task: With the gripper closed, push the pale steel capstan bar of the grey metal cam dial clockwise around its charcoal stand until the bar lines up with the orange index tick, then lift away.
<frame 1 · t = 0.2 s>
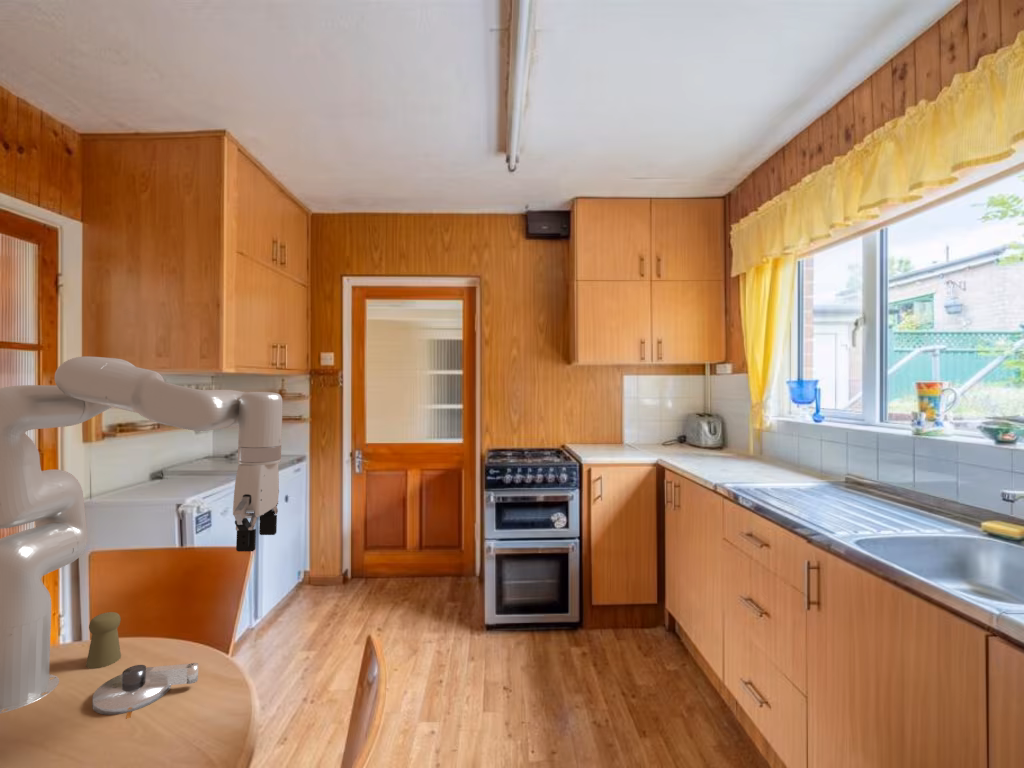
hand: (257, 542, 95), 31 cm above the table, tool pointing down, fingers open, 9 cm apart
olive pepper mill: (103, 667, 104), on the table
cam dial: (148, 680, 94), point 3 cm above the table, hinge at 0.0°
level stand: (133, 699, 93), on the table
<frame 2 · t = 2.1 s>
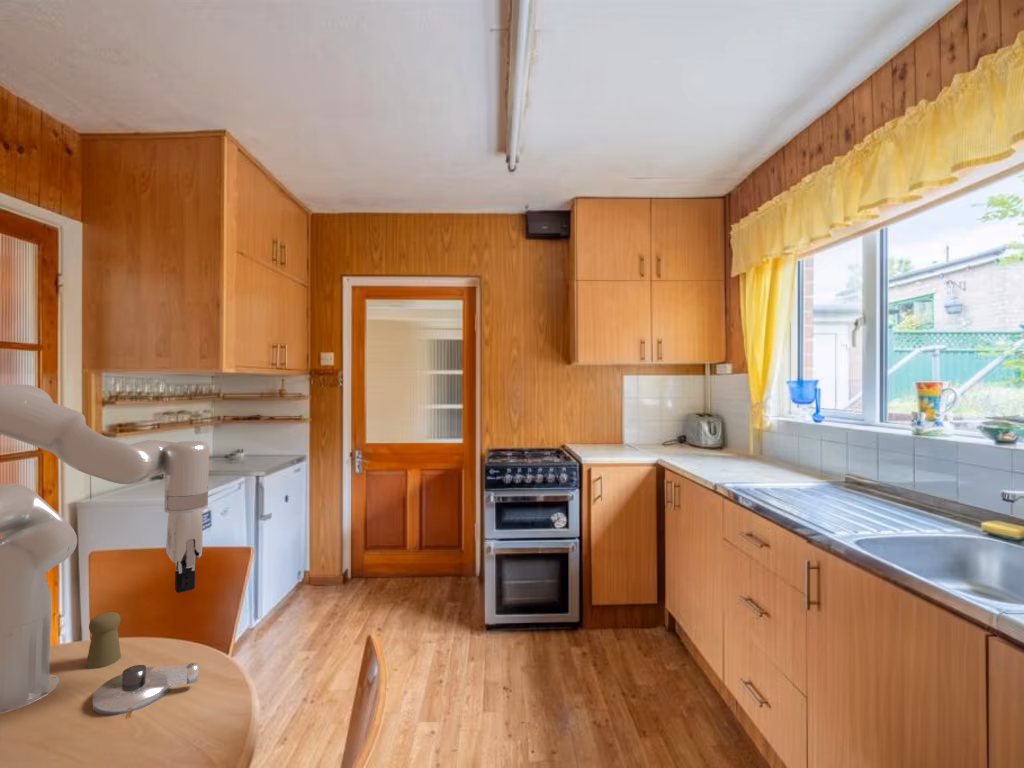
hand: (184, 589, 100), 18 cm above the table, tool pointing down, fingers closed
nothing on the table moved.
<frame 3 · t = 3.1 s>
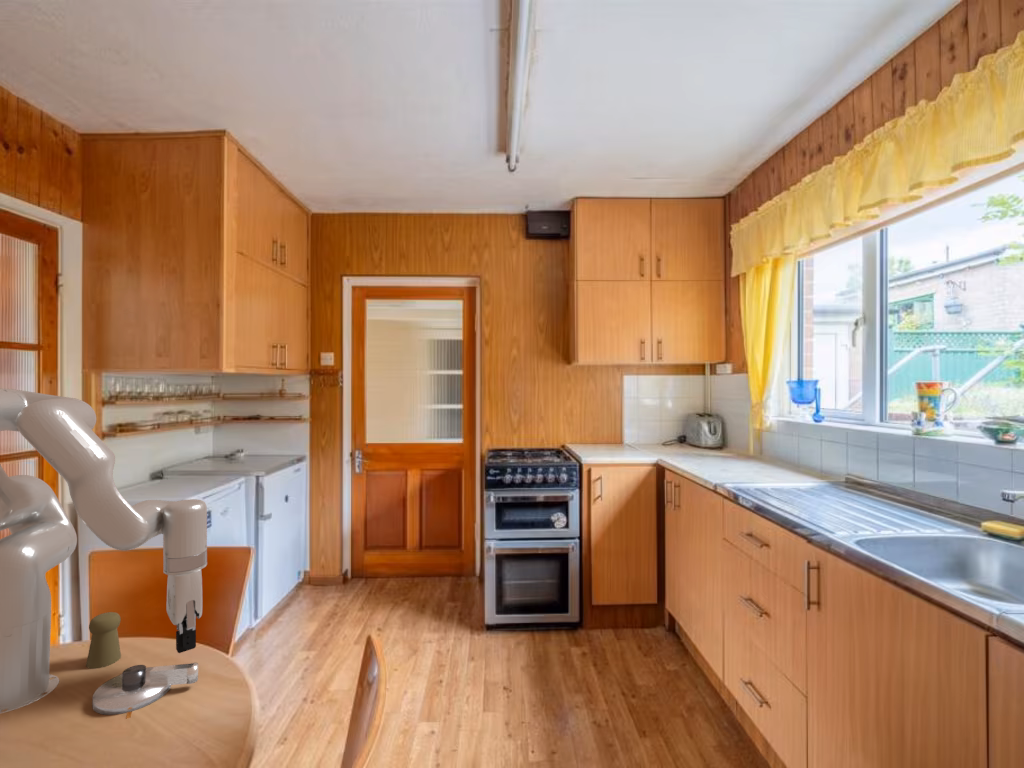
hand: (186, 648, 100), 6 cm above the table, tool pointing down, fingers closed
nothing on the table moved.
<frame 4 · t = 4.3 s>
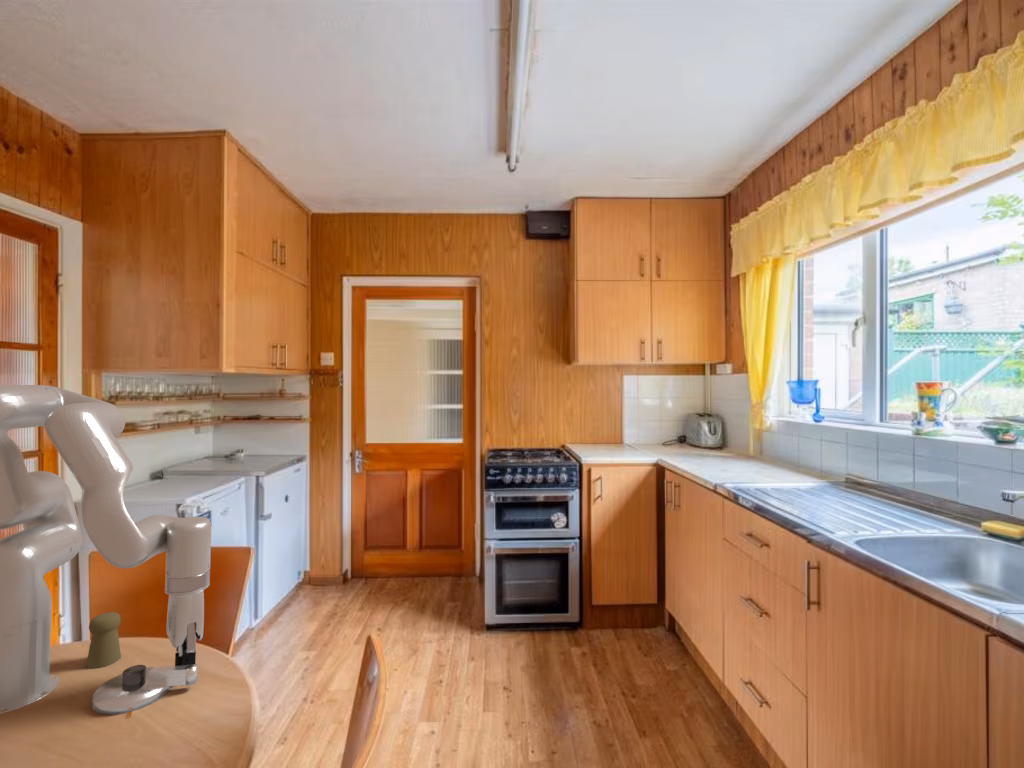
hand: (185, 671, 97), 3 cm above the table, tool pointing down, fingers closed
cam dial: (148, 680, 94), point 3 cm above the table, hinge at -2.6°, touching gripper
everything else where it was.
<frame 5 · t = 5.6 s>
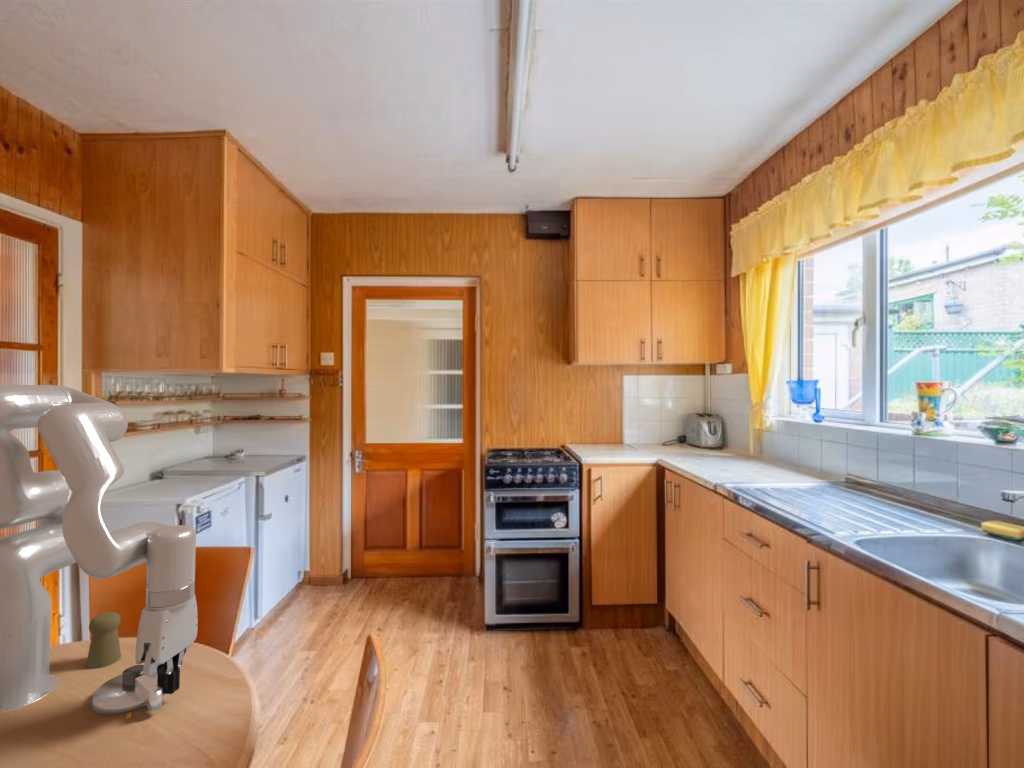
hand: (168, 690, 91), 3 cm above the table, tool pointing down, fingers closed
cam dial: (139, 686, 92), point 3 cm above the table, hinge at -47.1°, touching gripper
everything else where it was.
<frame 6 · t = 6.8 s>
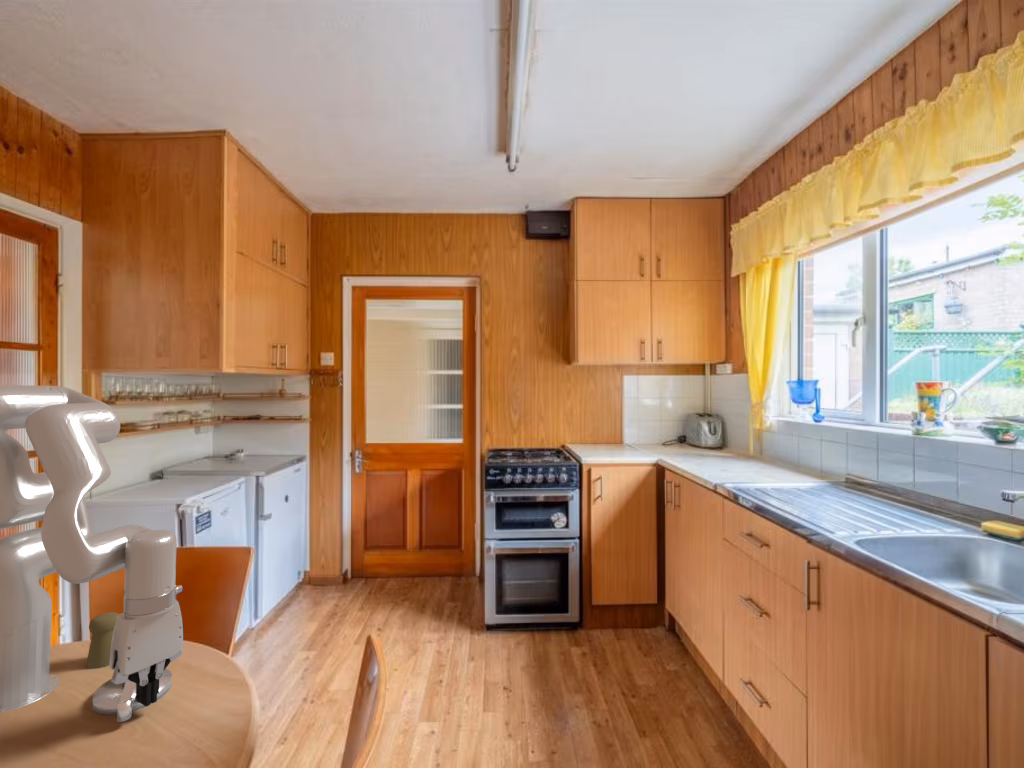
hand: (147, 701, 88), 3 cm above the table, tool pointing down, fingers closed
cam dial: (131, 689, 91), point 3 cm above the table, hinge at -72.1°
everything else where it was.
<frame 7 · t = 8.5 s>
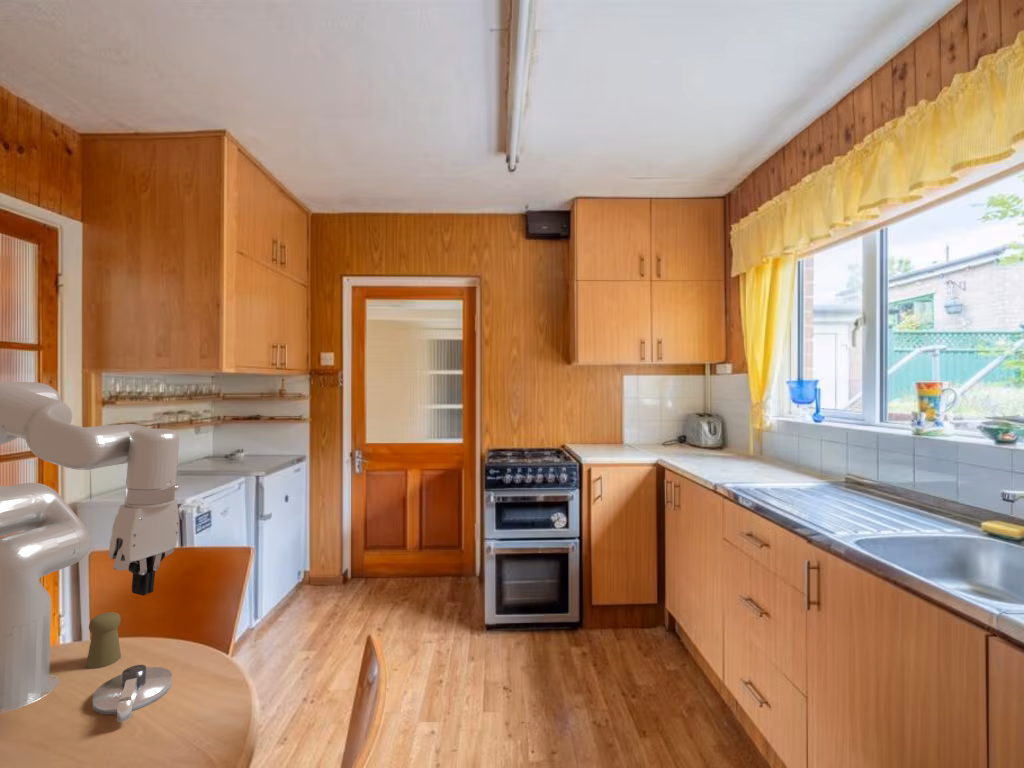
hand: (142, 592, 91), 22 cm above the table, tool pointing down, fingers closed
nothing on the table moved.
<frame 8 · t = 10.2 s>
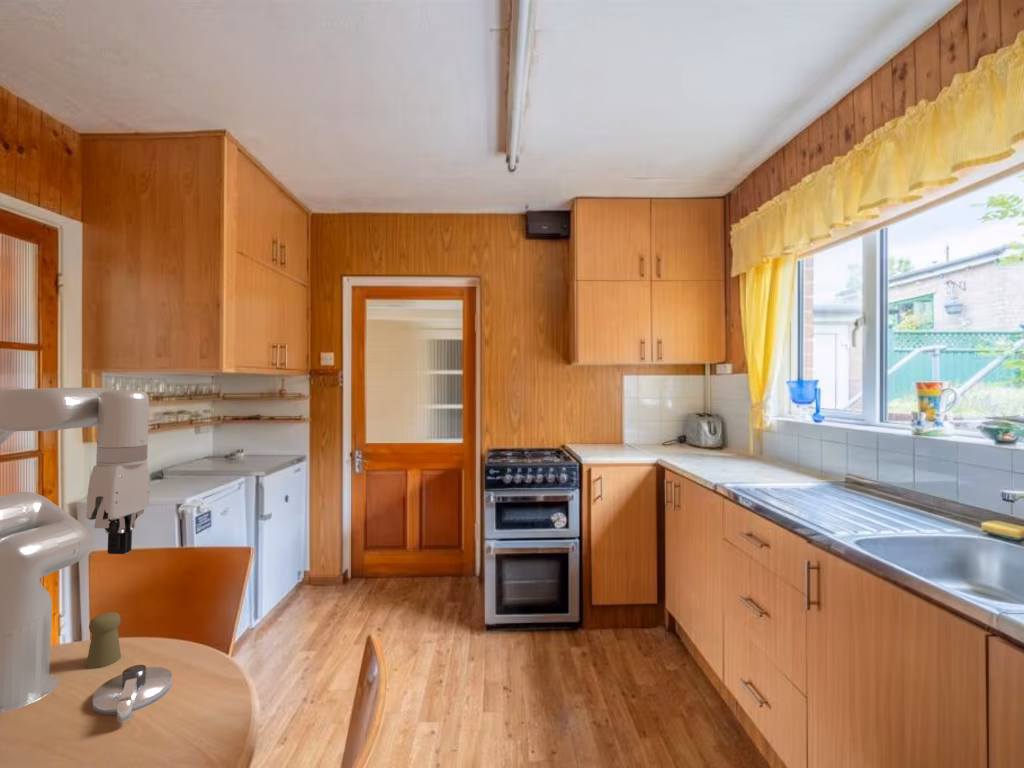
hand: (119, 552, 91), 29 cm above the table, tool pointing down, fingers closed
nothing on the table moved.
at the end: cam dial at -72° (first picture: +0°); olive pepper mill moved 0.2 cm from its start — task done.
